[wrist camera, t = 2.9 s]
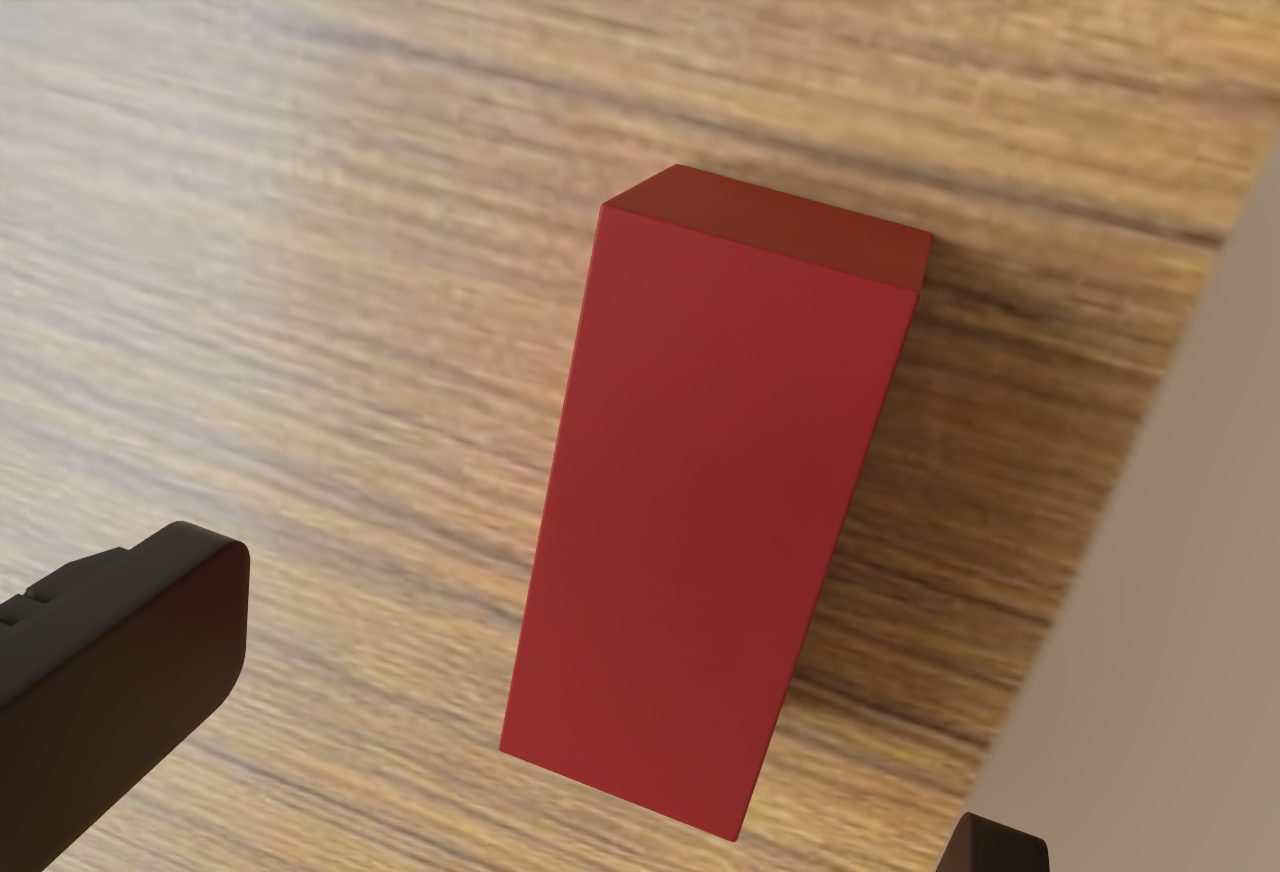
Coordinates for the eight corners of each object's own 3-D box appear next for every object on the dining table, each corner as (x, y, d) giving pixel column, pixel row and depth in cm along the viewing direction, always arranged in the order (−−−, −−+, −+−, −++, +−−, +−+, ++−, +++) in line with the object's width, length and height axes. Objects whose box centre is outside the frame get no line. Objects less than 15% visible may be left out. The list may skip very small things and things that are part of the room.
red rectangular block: (674, 162, 16) (600, 202, 13) (934, 232, 15) (920, 293, 12) (573, 634, 20) (496, 751, 17) (776, 708, 19) (735, 845, 16)
